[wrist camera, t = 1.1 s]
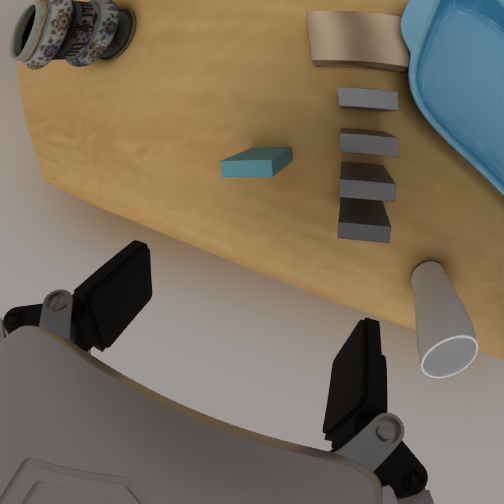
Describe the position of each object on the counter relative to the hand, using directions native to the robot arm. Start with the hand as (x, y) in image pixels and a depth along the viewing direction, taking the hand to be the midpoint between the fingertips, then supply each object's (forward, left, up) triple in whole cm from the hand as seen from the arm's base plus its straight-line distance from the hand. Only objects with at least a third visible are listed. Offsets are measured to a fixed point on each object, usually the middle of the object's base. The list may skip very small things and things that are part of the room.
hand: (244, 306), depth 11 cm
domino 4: (-6, +3, -24) cm, 25 cm away
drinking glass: (-17, +13, -25) cm, 32 cm away
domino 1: (-6, -9, -24) cm, 26 cm away
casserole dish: (-27, -12, -25) cm, 39 cm away
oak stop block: (-6, -16, -24) cm, 30 cm away
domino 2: (-6, -5, -24) cm, 25 cm away
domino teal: (+5, -2, -24) cm, 25 cm away
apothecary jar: (+29, -26, -25) cm, 46 cm away
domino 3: (-6, -1, -24) cm, 25 cm away
